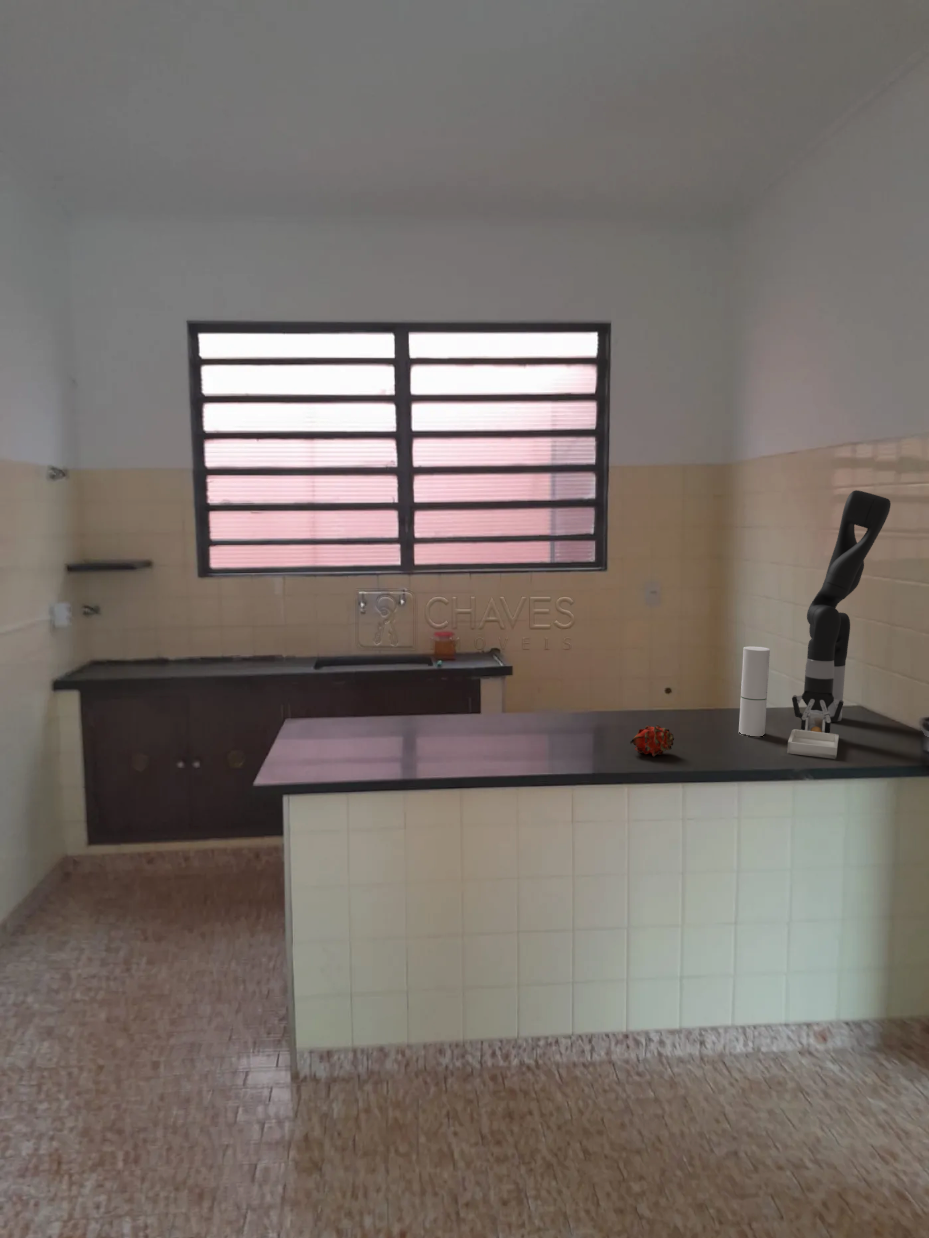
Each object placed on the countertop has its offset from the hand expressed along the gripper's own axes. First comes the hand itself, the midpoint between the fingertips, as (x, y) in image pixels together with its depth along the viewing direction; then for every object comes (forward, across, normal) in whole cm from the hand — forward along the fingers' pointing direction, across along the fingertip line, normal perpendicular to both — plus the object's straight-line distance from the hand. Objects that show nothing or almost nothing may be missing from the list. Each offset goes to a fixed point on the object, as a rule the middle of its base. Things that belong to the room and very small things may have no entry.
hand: (815, 733), depth 246 cm
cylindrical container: (+1, -17, -5) cm, 17 cm away
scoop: (+1, 0, 0) cm, 1 cm away
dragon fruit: (+1, -38, -39) cm, 54 cm away
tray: (+1, 0, -13) cm, 13 cm away
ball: (-1, 0, -2) cm, 3 cm away
